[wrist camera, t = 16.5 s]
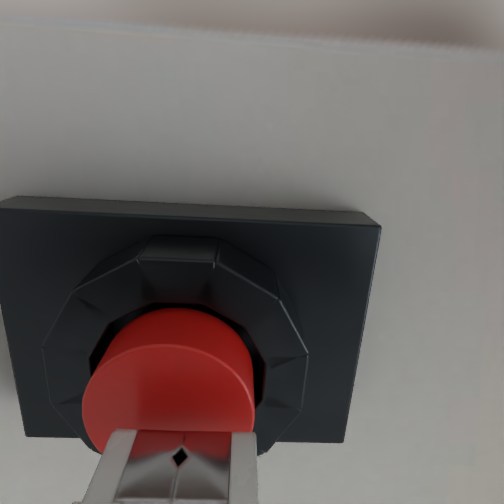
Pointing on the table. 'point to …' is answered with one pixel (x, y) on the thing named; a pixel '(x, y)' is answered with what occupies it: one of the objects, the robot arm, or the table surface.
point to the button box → (187, 300)
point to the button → (171, 378)
